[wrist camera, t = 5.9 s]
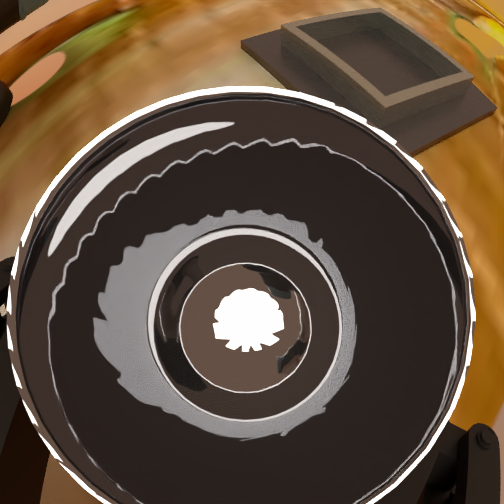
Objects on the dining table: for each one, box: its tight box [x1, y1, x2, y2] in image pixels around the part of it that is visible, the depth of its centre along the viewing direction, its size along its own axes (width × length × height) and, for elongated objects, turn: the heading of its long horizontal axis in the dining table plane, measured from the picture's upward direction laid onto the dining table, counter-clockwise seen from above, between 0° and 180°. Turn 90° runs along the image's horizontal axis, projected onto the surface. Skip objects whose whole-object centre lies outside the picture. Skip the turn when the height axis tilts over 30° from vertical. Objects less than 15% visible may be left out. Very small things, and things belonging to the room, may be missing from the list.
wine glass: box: [7, 86, 475, 504], centre depth 11 cm, size 8×8×15 cm
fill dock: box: [241, 8, 497, 157], centre depth 25 cm, size 20×20×4 cm
